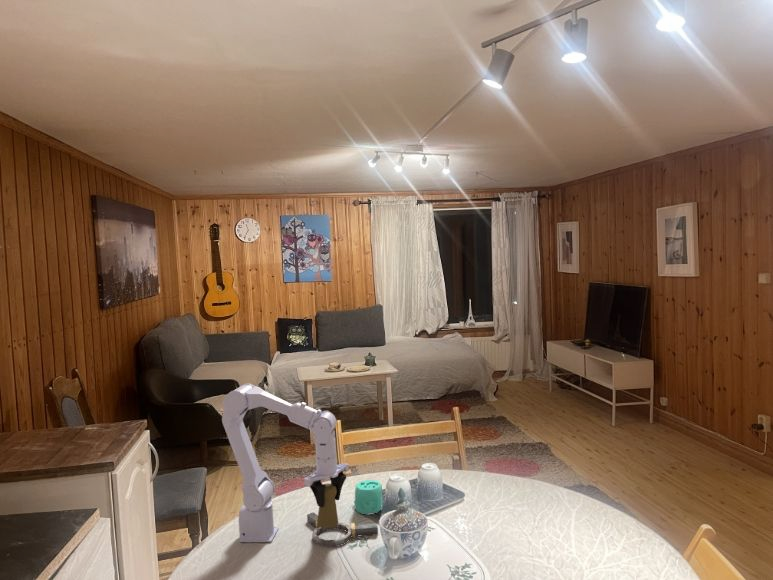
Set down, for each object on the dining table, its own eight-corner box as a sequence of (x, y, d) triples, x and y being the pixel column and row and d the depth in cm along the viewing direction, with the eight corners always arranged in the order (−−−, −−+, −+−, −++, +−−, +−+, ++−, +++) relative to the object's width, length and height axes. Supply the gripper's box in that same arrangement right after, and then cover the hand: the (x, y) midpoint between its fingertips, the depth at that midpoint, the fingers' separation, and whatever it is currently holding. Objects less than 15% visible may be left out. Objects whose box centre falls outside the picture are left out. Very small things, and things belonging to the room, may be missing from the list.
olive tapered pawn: (316, 528, 157) (316, 490, 156) (317, 517, 163) (317, 481, 162) (338, 527, 158) (338, 489, 157) (338, 517, 164) (338, 480, 163)
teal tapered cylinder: (358, 504, 181) (356, 479, 181) (382, 503, 181) (381, 479, 180) (355, 515, 173) (354, 490, 173) (381, 515, 173) (380, 489, 173)
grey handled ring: (296, 547, 156) (296, 538, 156) (308, 519, 172) (308, 511, 172) (376, 546, 155) (375, 537, 154) (380, 518, 171) (380, 510, 170)
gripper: (314, 467, 151) (316, 516, 152) (354, 451, 161) (356, 497, 162) (298, 460, 156) (301, 508, 157) (338, 446, 166) (341, 491, 167)
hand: (328, 502), depth 160 cm, fingers closed on olive tapered pawn, 5 cm apart
